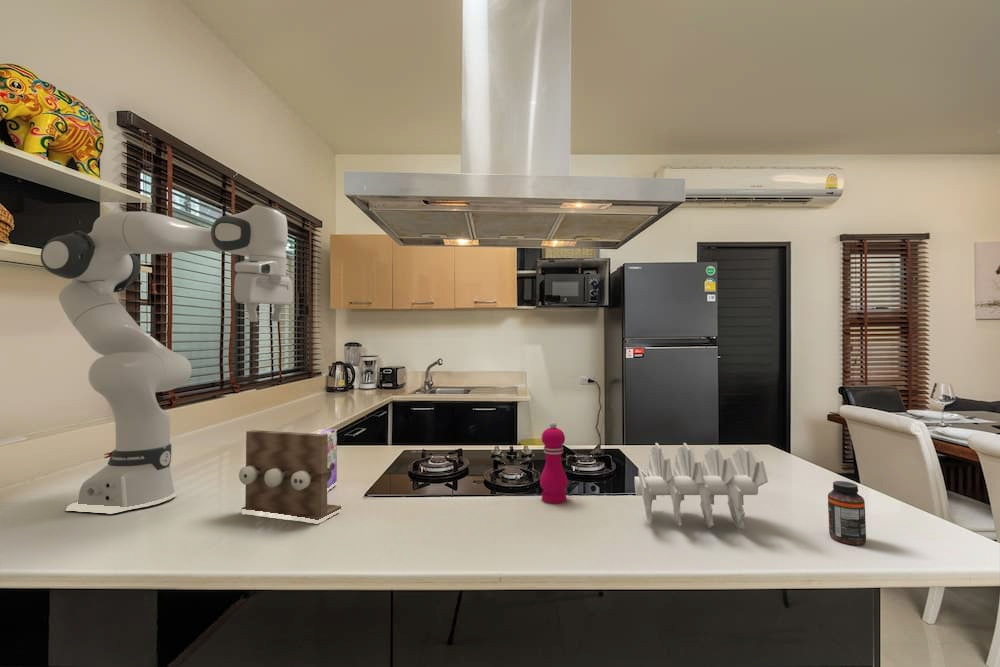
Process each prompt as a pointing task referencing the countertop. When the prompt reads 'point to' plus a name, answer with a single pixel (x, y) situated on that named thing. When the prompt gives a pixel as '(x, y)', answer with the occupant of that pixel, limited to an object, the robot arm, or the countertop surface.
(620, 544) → the countertop surface
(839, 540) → the supplement bottle
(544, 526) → the countertop surface
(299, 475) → the two dot button
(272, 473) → the plain button
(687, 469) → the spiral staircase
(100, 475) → the robot arm
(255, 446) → the button panel
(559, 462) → the pepper mill
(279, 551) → the countertop surface
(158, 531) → the countertop surface
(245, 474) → the one dot button
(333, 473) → the candy box
